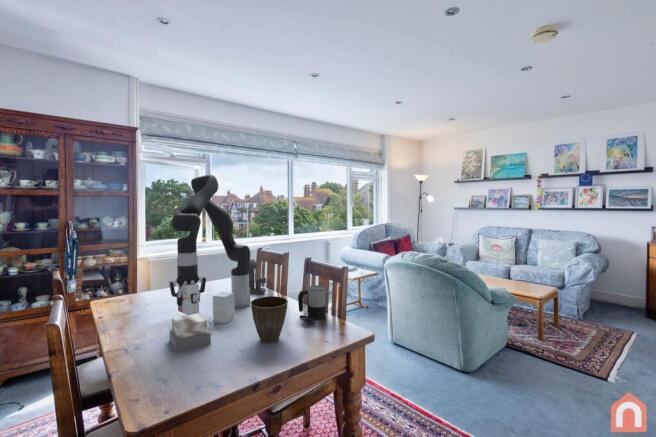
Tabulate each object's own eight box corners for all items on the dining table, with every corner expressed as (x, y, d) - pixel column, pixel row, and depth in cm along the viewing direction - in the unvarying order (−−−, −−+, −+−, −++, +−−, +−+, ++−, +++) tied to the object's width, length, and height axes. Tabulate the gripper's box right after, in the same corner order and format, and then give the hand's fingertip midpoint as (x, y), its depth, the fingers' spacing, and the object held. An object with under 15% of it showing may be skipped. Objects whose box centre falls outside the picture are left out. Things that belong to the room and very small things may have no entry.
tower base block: (202, 334, 144) (202, 322, 144) (210, 344, 133) (210, 332, 133) (169, 341, 137) (169, 329, 136) (175, 353, 126) (175, 340, 126)
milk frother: (324, 313, 169) (324, 284, 168) (331, 324, 154) (331, 293, 153) (296, 315, 166) (296, 286, 165) (300, 327, 150) (300, 295, 150)
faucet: (268, 287, 219) (267, 257, 217) (265, 294, 203) (264, 261, 202) (240, 287, 218) (239, 257, 216) (234, 294, 202) (234, 262, 201)
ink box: (177, 311, 135) (176, 282, 134) (189, 308, 139) (188, 280, 138) (188, 316, 130) (187, 286, 129) (200, 312, 133) (199, 283, 133)
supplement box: (235, 318, 162) (234, 292, 161) (225, 323, 155) (225, 297, 154) (222, 316, 164) (221, 291, 163) (212, 321, 157) (212, 295, 156)
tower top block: (200, 324, 142) (200, 312, 142) (206, 332, 133) (206, 320, 133) (172, 329, 136) (171, 317, 136) (177, 339, 127) (176, 326, 127)
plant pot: (294, 335, 141) (294, 298, 140) (275, 350, 127) (274, 309, 126) (265, 330, 147) (264, 294, 146) (243, 343, 133) (243, 304, 133)
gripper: (203, 260, 140) (204, 299, 141) (166, 263, 132) (167, 305, 133) (208, 263, 134) (209, 304, 135) (169, 267, 126) (170, 310, 127)
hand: (188, 304), depth 134 cm, fingers closed on ink box, 5 cm apart
